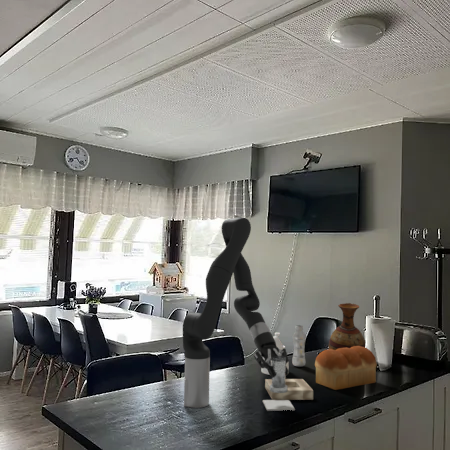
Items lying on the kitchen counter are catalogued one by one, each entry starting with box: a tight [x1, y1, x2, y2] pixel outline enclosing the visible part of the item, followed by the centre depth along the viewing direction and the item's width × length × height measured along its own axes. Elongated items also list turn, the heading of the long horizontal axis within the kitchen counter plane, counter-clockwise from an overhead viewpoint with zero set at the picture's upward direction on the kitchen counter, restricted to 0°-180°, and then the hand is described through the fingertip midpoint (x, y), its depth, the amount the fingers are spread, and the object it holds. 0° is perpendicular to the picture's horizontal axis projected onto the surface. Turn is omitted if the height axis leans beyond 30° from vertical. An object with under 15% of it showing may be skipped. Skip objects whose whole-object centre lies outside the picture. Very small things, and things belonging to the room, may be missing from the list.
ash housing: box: [264, 378, 314, 401], centre depth 185 cm, size 16×16×4 cm
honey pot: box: [261, 332, 290, 376], centre depth 219 cm, size 13×13×18 cm
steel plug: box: [270, 356, 288, 393], centre depth 170 cm, size 7×7×12 cm
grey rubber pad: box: [262, 399, 296, 412], centre depth 169 cm, size 10×10×1 cm
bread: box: [314, 346, 378, 391], centre depth 202 cm, size 25×12×15 cm, turn 120°
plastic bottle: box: [291, 324, 307, 368], centre depth 230 cm, size 6×7×20 cm
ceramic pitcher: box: [328, 302, 366, 350], centre depth 248 cm, size 20×20×30 cm
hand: (280, 375), depth 169 cm, fingers closed on steel plug, 5 cm apart
